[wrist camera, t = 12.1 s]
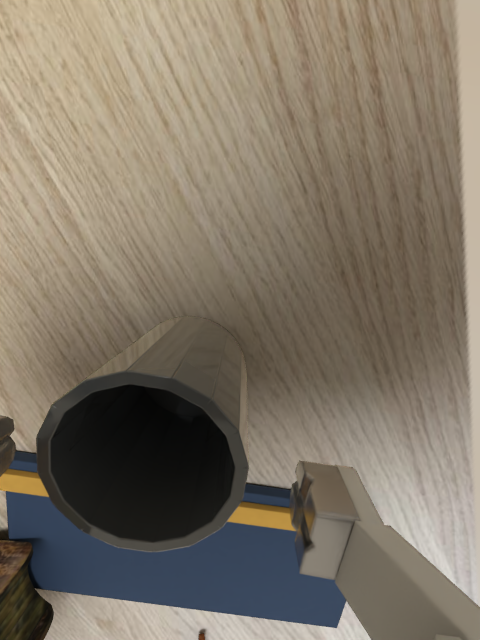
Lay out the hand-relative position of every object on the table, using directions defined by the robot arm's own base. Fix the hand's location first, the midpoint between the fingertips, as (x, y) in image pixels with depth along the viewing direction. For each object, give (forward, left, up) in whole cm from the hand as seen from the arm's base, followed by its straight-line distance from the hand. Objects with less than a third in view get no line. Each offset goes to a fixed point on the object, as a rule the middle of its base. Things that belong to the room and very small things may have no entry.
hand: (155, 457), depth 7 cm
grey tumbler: (0, 0, -7) cm, 7 cm away
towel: (-1, +12, -7) cm, 14 cm away
